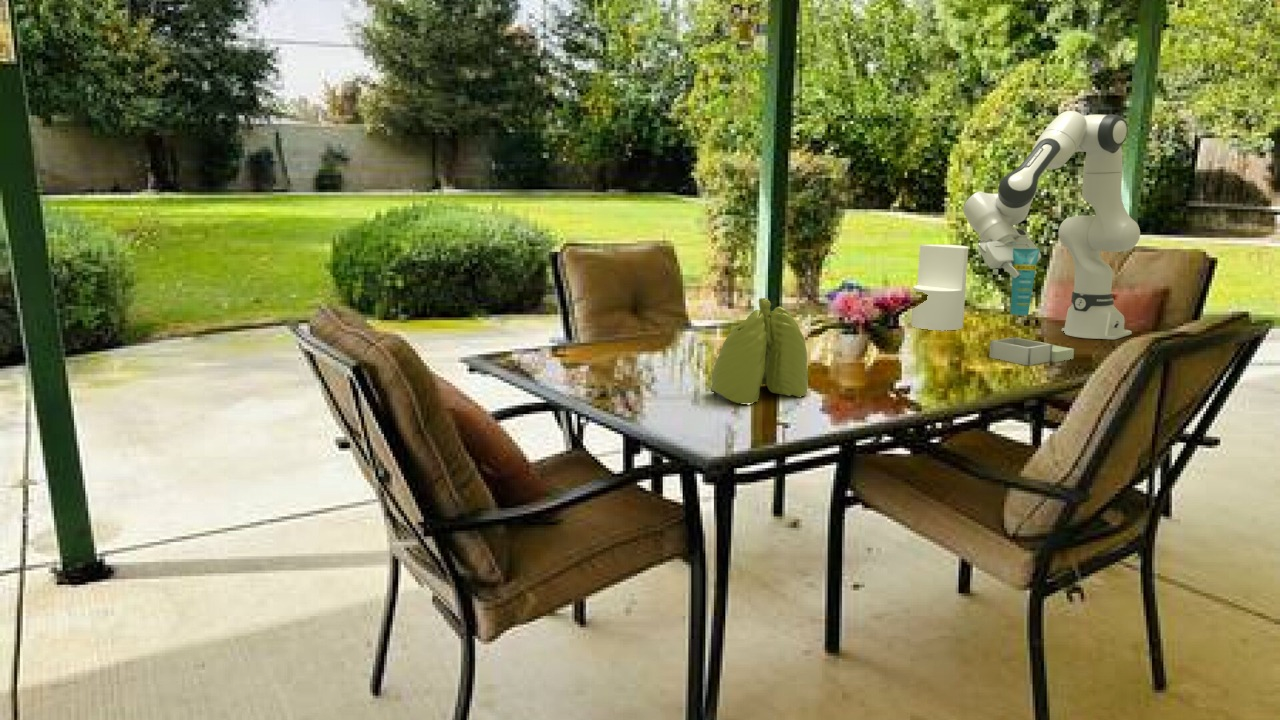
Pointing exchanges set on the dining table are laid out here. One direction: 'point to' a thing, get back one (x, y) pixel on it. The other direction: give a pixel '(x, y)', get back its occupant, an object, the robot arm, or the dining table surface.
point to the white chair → (941, 287)
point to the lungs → (762, 357)
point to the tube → (1023, 280)
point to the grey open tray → (1028, 351)
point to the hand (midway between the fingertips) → (1025, 275)
